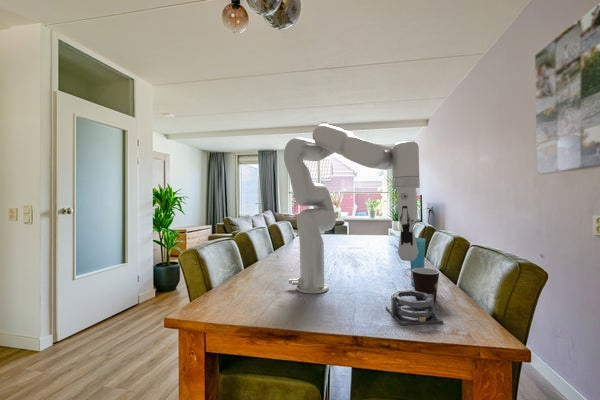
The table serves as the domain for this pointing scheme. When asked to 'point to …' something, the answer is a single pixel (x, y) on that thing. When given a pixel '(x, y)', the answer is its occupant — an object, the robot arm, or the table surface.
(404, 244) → the salt shaker
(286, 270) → the table surface
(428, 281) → the coffee mug
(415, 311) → the collar stand
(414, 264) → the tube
